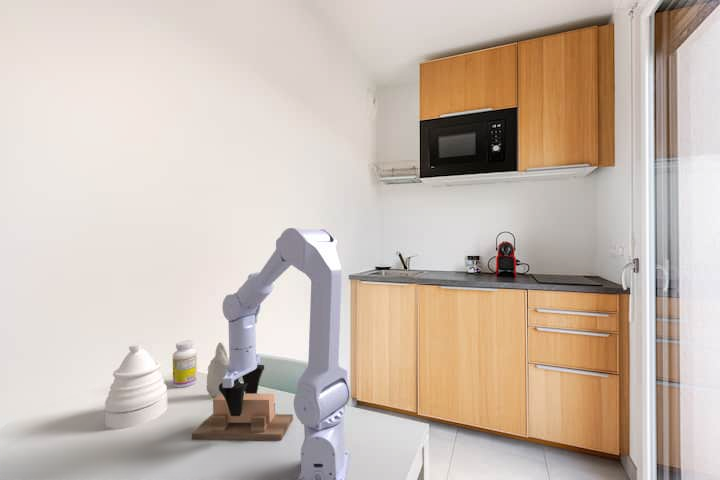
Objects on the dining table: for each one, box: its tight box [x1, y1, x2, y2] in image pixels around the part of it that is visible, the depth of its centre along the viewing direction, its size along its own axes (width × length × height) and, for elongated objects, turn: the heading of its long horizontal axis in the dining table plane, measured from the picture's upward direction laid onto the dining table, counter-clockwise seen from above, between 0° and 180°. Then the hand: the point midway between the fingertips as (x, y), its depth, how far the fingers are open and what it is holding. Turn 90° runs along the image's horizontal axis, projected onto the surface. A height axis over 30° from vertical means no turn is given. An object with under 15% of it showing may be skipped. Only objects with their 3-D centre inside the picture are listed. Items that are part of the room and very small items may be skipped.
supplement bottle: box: [172, 339, 198, 388], centre depth 98 cm, size 7×7×13 cm
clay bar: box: [212, 393, 276, 423], centre depth 71 cm, size 3×13×5 cm, turn 85°
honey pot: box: [104, 343, 168, 430], centre depth 80 cm, size 13×13×18 cm
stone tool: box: [206, 342, 229, 398], centre depth 88 cm, size 8×3×15 cm, turn 75°
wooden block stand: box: [191, 402, 294, 441], centre depth 71 cm, size 8×20×4 cm, turn 85°
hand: (244, 406), depth 71 cm, fingers open, 7 cm apart
